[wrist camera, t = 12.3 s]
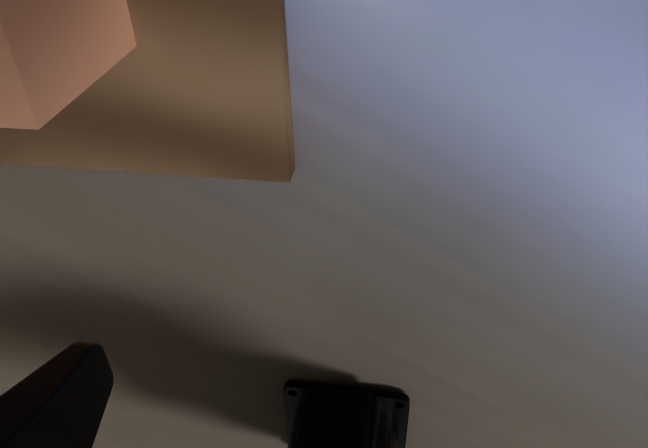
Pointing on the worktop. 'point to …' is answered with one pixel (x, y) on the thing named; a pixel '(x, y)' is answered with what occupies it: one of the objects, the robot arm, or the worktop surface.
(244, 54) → the walnut board
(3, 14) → the terracotta cube
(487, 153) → the worktop surface
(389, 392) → the robot arm
